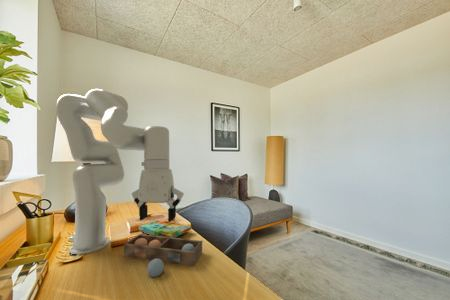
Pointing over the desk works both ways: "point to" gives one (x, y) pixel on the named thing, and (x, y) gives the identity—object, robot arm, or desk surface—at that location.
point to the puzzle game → (164, 228)
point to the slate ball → (155, 267)
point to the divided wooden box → (164, 250)
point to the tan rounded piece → (141, 242)
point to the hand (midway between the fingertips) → (157, 219)
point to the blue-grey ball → (188, 247)
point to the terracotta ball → (154, 243)
